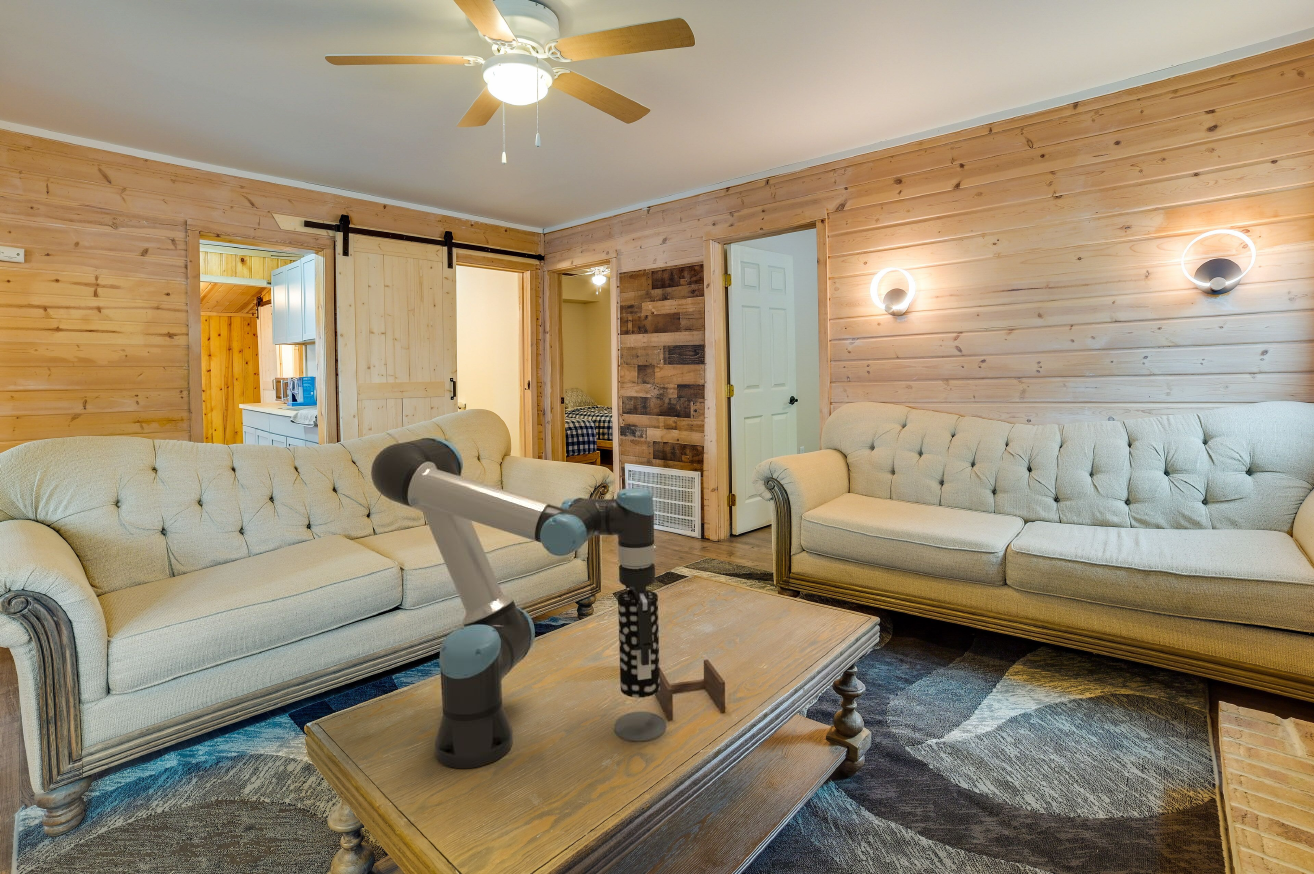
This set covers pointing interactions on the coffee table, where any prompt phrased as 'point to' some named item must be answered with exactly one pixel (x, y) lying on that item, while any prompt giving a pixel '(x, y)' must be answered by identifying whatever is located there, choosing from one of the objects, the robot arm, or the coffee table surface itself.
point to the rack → (692, 689)
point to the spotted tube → (629, 642)
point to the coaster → (640, 726)
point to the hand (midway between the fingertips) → (639, 668)
